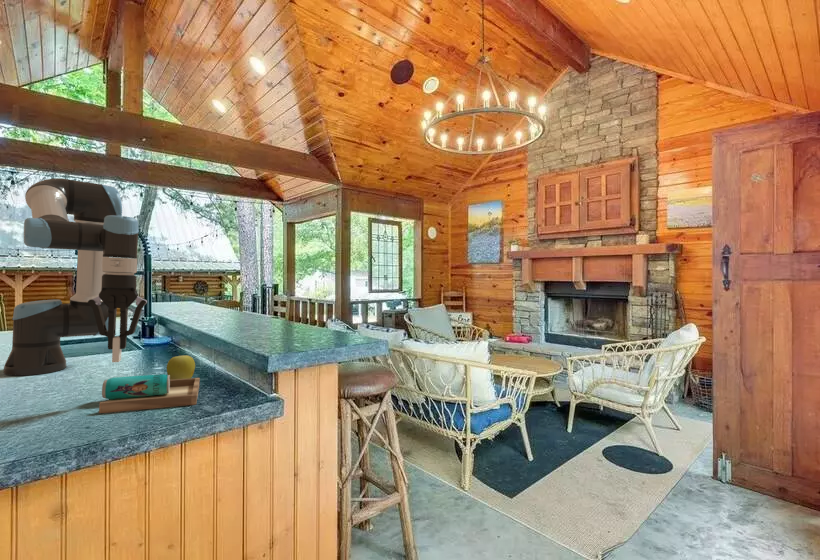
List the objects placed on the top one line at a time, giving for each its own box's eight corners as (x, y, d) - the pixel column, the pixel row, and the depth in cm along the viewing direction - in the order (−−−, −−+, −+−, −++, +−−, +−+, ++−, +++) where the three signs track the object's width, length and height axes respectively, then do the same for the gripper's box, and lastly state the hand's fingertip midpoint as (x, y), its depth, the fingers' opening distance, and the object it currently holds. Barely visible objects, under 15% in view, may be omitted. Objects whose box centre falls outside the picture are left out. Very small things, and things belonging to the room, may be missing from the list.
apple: (189, 381, 123) (181, 350, 123) (165, 387, 124) (157, 357, 124) (203, 375, 131) (195, 346, 131) (180, 381, 131) (173, 352, 131)
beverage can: (101, 382, 102) (168, 377, 109) (106, 375, 107) (170, 371, 114) (101, 403, 103) (168, 397, 110) (105, 395, 108) (169, 390, 115)
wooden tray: (116, 391, 114) (116, 383, 114) (199, 385, 123) (199, 377, 123) (99, 413, 97) (99, 403, 97) (196, 404, 106) (196, 395, 106)
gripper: (84, 273, 99) (81, 365, 100) (146, 275, 105) (143, 362, 105) (93, 272, 106) (90, 359, 106) (150, 274, 112) (147, 356, 112)
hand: (116, 361), depth 106 cm, fingers closed
